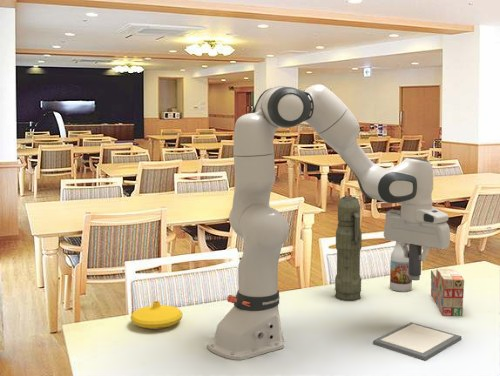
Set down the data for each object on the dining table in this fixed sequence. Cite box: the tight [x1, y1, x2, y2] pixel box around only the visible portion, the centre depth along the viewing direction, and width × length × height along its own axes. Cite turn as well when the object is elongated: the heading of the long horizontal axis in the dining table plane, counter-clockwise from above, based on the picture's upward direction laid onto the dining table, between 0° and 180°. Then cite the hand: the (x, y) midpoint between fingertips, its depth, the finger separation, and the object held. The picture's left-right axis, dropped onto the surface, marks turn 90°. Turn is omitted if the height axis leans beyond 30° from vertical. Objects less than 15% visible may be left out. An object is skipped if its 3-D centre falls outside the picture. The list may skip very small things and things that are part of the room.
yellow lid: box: [130, 300, 183, 330], centre depth 183 cm, size 16×16×7 cm
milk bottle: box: [389, 241, 413, 293], centre depth 215 cm, size 8×8×20 cm
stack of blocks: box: [430, 268, 465, 317], centre depth 197 cm, size 21×6×12 cm, turn 173°
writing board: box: [372, 322, 462, 361], centre depth 167 cm, size 20×16×1 cm
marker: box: [408, 232, 423, 281], centre depth 176 cm, size 4×4×14 cm
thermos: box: [334, 196, 363, 302], centre depth 205 cm, size 9×12×35 cm
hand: (414, 259), depth 176 cm, fingers closed on marker, 4 cm apart
